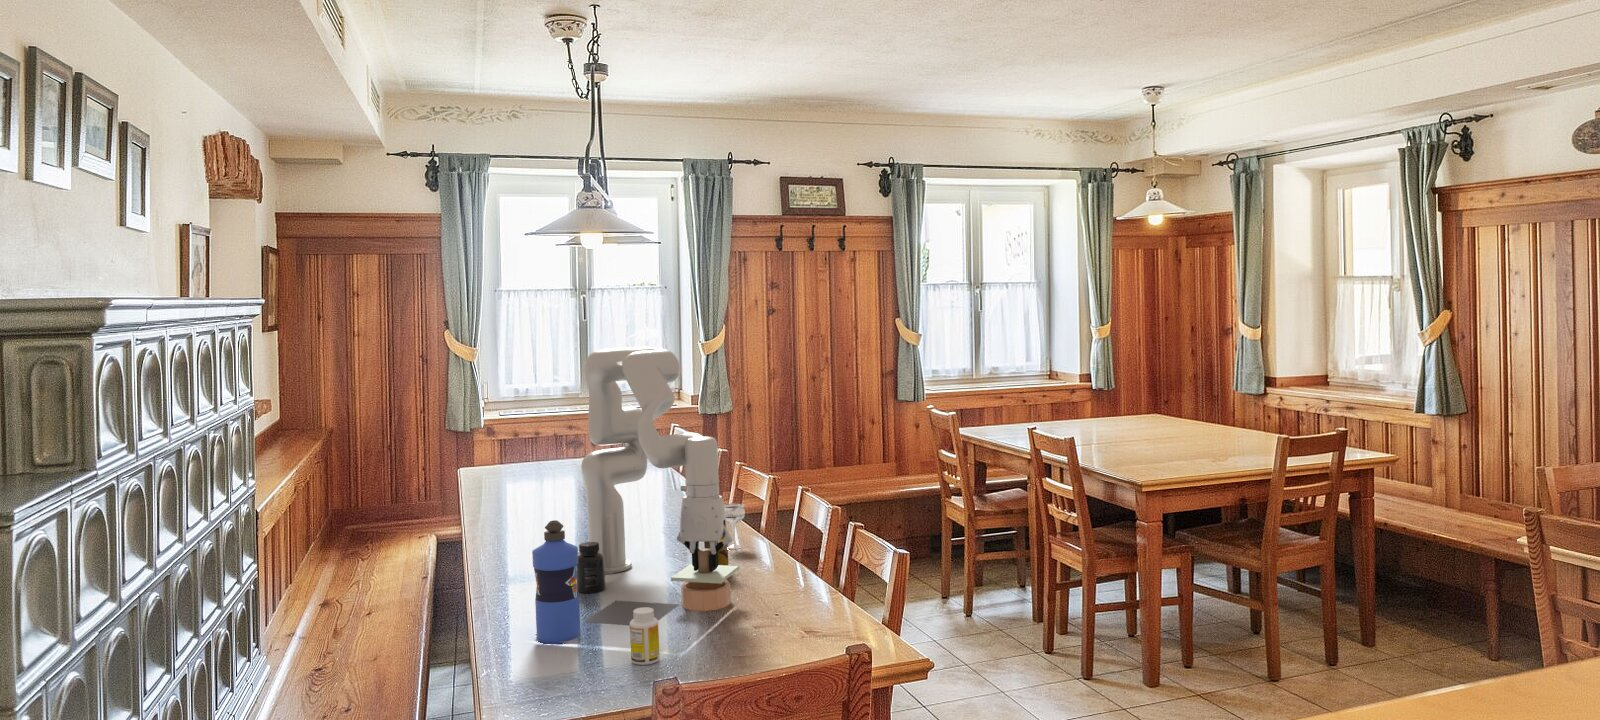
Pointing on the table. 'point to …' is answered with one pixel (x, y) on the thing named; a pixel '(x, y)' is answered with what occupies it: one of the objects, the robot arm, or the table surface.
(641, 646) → the supplement bottle
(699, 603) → the bowl
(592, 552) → the supplement bottle
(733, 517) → the wineglass
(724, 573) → the lid
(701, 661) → the table surface
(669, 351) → the robot arm
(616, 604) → the mat
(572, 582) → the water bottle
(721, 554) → the condiment
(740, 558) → the table surface
